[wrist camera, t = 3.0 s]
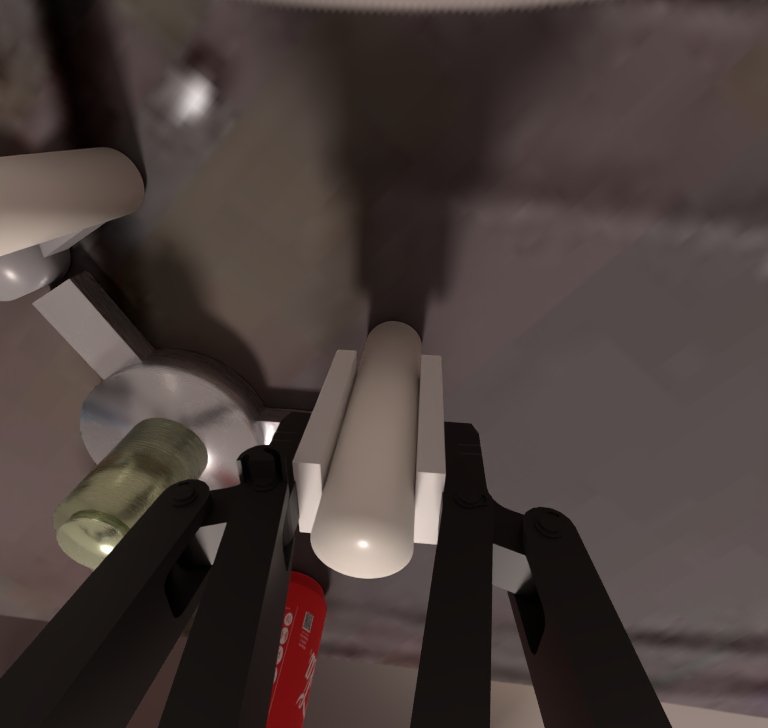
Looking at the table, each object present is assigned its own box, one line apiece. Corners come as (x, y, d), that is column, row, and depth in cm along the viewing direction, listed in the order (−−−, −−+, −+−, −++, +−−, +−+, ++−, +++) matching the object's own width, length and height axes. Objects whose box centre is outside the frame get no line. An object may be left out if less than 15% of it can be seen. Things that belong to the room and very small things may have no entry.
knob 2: (422, 467, 24) (417, 700, 15) (357, 462, 24) (309, 687, 15) (434, 322, 20) (437, 514, 10) (355, 317, 20) (286, 501, 11)
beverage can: (293, 556, 29) (217, 800, 19) (345, 598, 31) (301, 843, 21) (241, 582, 31) (146, 817, 21) (292, 620, 33) (228, 855, 22)
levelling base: (16, 454, 27) (-132, 576, 20) (59, 255, 20) (-141, 330, 13) (265, 566, 30) (213, 707, 23) (372, 425, 23) (347, 560, 16)
